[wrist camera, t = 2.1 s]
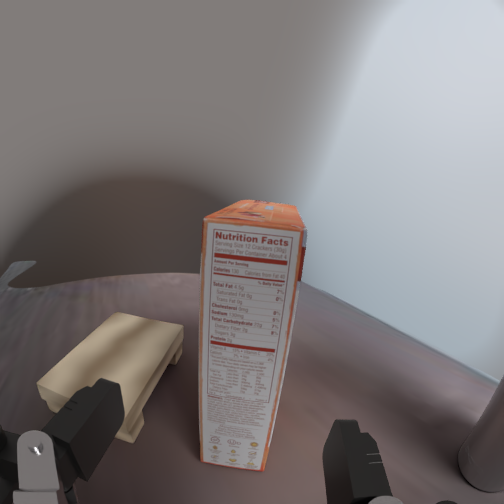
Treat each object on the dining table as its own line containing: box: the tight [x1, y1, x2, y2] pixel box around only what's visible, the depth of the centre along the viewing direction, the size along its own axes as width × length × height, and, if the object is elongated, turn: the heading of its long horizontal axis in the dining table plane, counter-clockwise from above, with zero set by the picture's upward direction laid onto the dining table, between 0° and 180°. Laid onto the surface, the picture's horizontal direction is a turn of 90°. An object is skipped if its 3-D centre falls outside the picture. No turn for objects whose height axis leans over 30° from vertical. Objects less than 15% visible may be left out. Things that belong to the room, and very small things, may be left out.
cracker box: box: [198, 200, 307, 471], centre depth 25 cm, size 14×6×21 cm, turn 174°
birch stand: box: [36, 312, 183, 444], centre depth 29 cm, size 10×18×4 cm, turn 175°
